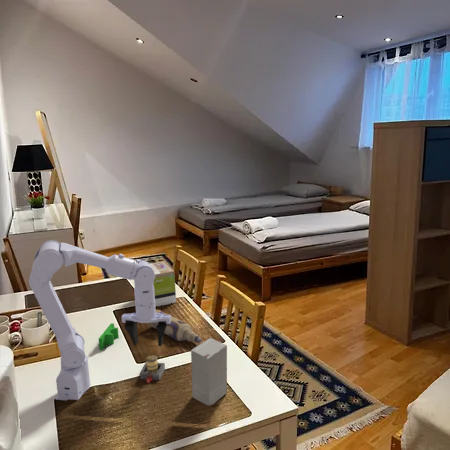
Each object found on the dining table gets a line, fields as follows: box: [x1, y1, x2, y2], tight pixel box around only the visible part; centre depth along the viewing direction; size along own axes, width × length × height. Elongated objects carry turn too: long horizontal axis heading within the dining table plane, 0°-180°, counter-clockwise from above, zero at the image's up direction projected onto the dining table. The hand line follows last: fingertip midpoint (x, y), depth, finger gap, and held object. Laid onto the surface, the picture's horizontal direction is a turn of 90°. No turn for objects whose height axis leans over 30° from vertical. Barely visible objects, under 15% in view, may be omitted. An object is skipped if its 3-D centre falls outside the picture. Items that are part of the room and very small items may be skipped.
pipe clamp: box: [98, 322, 120, 351], centre depth 148 cm, size 11×4×5 cm, turn 173°
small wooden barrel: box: [145, 354, 159, 373], centre depth 127 cm, size 3×3×5 cm
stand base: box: [139, 362, 166, 384], centre depth 127 cm, size 10×10×3 cm
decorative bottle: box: [147, 309, 203, 344], centre depth 150 cm, size 26×8×7 cm, turn 46°
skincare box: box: [190, 337, 228, 407], centre depth 115 cm, size 8×7×16 cm
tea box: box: [149, 260, 177, 308], centre depth 182 cm, size 15×10×15 cm
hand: (148, 344), depth 126 cm, fingers open, 7 cm apart
